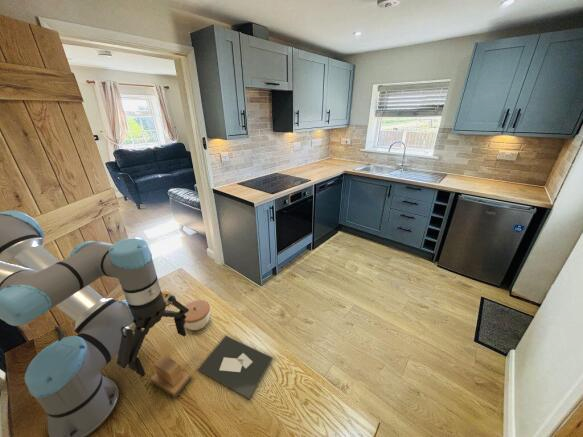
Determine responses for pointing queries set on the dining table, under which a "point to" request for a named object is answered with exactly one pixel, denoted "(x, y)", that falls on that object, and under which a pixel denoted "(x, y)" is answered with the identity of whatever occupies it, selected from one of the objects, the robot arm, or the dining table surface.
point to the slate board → (236, 366)
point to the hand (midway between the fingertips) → (163, 352)
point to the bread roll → (165, 294)
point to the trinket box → (197, 314)
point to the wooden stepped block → (170, 376)
